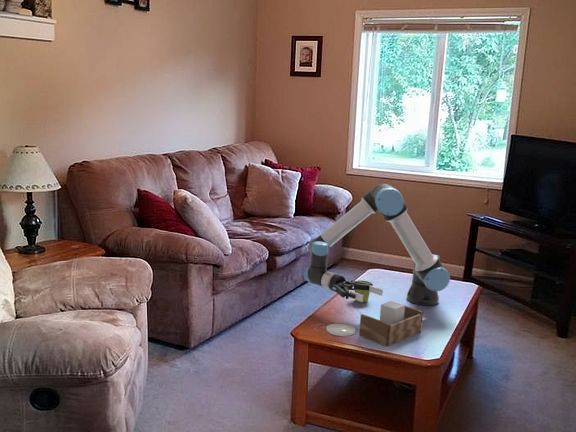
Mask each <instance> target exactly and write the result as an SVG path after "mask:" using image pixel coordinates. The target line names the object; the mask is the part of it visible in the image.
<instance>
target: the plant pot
mask: <svg viewBox="0 0 576 432" xmlns="http://www.w3.org/2000/svg"><path fill="white" fill-rule="evenodd" d="M357 281H359V282H365V283H372V282H371V281H368V280H362V279H360V280H357ZM354 292H356V293H358V294H361V295H363V302H361V301H358V300H355V301H356V302H357V303H367V302H369V298H370V293H371V292H369V291H367V290H357V289H356V290H354Z"/></svg>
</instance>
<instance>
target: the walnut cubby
mask: <svg viewBox="0 0 576 432" xmlns="http://www.w3.org/2000/svg"><path fill="white" fill-rule="evenodd" d="M423 316H424V311H422V310H419V309H417V308H414V307H411V306H407V305H405V311H404V320H402V321H400V322H397V323H395V324H392V325H391V324H389V323H386V322H383V321H380V319H378V318H375V317H371V316H369V315H367V314H364V313H361V314H360V321H359V331H358V332H359V334H358V336H360V337H363V338H364V339H367V340H369V341H373V342H375V343H376V344H379V345H382V346H385V347H390V346H393V345H394V344H397V343H399V342H402V341H403V340H406V339H408V338H411V337H413V336H415V335H417V334H419V333H421V332H422V327H423V326H422V324H423V323H422V317H423ZM423 318H424V317H423Z"/></svg>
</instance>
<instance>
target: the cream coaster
mask: <svg viewBox="0 0 576 432" xmlns="http://www.w3.org/2000/svg"><path fill="white" fill-rule="evenodd" d="M326 332H327V333H328V334H331V335H334V336H335V337H336V336H337V337H351V336H353V335H355V334H356V329H355V328H354V326H352V325H348V324H344V323H331V324H329V325H327V326H326Z"/></svg>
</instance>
